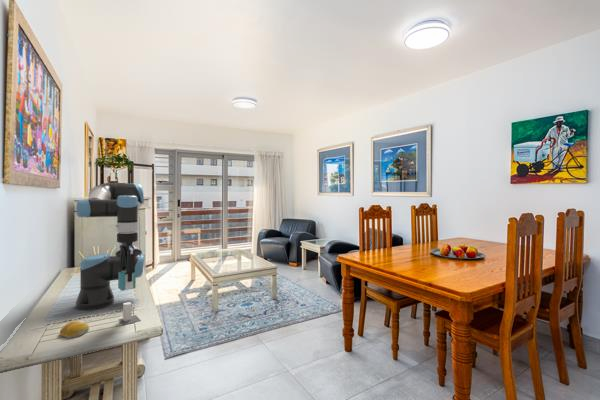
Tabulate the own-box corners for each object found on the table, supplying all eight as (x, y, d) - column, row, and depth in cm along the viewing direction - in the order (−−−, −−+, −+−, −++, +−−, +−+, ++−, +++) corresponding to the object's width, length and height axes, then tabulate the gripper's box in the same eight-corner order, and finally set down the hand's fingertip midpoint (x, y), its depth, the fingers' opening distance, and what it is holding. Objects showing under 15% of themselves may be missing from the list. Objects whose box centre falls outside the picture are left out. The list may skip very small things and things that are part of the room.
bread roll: (71, 340, 109) (71, 329, 109) (56, 335, 112) (56, 325, 112) (94, 330, 117) (94, 320, 116) (79, 326, 120) (79, 316, 120)
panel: (118, 319, 126) (118, 319, 126) (135, 315, 131) (135, 314, 131) (123, 325, 121) (123, 324, 121) (140, 320, 126) (140, 320, 126)
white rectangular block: (122, 319, 126) (122, 303, 126) (129, 317, 128) (129, 301, 128) (124, 321, 124) (124, 305, 124) (131, 319, 126) (131, 303, 126)
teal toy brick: (118, 287, 126) (118, 272, 125) (132, 285, 129) (132, 270, 129) (121, 290, 122) (121, 274, 122) (135, 288, 125) (135, 272, 125)
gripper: (112, 230, 129) (111, 284, 130) (122, 235, 116) (122, 294, 116) (131, 229, 134) (131, 280, 135) (143, 233, 121) (143, 290, 122)
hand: (127, 287), depth 126 cm, fingers closed on teal toy brick, 5 cm apart
